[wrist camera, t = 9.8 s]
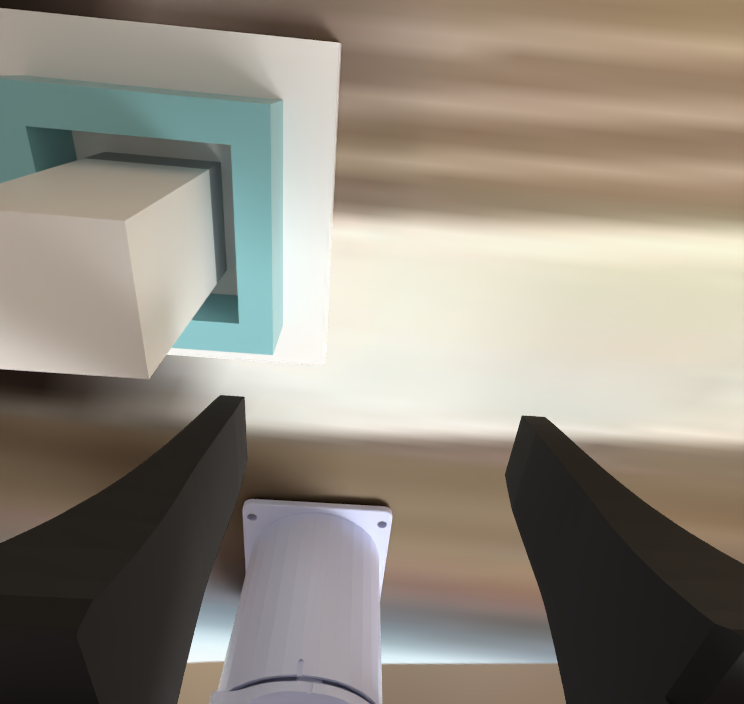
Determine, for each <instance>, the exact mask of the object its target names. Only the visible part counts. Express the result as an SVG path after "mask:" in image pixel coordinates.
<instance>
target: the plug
mask: <svg viewBox="0 0 744 704" xmlns="http://www.w3.org/2000/svg"><path fill="white" fill-rule="evenodd" d="M226 270H227V263H226V245H225V227H224V209H223V192H222V174H221V162H214V161H202V160H191V159H180V158H169V157H158V156H147V155H136V154H125V153H113V152H102V153H99V154H96V155H92V156H89V157H86V158H83V159H79V160H76V161H73V162H69V163H66V164H63V165H59V166H56V167H53V168H50V169H46V170H43V171H40V172H36V173H33V174H30V175H26V176H23V177H20V178H16V179H13V180H10V181H7V182H3V183H0V369H8V370H23V371H37V372H52V373H66V374H81V375H96V376H110V377H125V378H139V379H149V378H150V377H151V376H152V374H153V373H154V371H155V370H156V369H157V367H158V366H159V364H160V363H161V362H162V360H163V359H164V357H165V356H166V355H167V353H168V352H169V350H170V349H171V348H172V346H173V345H174V343H175V342H176V341H177V339H178V338H179V336H180V335H181V334H182V332H183V331H184V329H185V328H186V327H187V325H188V324H189V322H190V321H191V320H192V318H193V317H194V315H195V314H196V313H197V311H198V310H199V308H200V307H201V305H202V304H203V303H204V301H205V300H206V298H207V297H208V296H209V294H210V293H211V291H212V290H213V289H214V287H215V286H216V284H217V283H218V282H219V280H220V279H221V277H222V276H223V275H224V273H225V272H226Z"/></svg>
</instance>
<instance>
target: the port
mask: <svg viewBox="0 0 744 704" xmlns="http://www.w3.org/2000/svg"><path fill="white" fill-rule="evenodd" d="M340 62H341V43H337V42H328V41H318V40H308V39H298V38H289V37H279V36H269V35H259V34H250V33H240V32H230V31H220V30H211V29H201V28H191V27H181V26H172V25H162V24H152V23H142V22H133V21H123V20H113V19H103V18H94V17H84V16H74V15H64V14H55V13H45V12H35V11H25V10H16V9H6V8H0V183H3V182H7V181H10V180H13V179H16V178H20V177H23V176H26V175H30V174H33V173H36V172H40V171H43V170H46V169H50V168H53V167H56V166H59V165H63V164H66V163H69V162H73V161H76V160H79V159H83V158H86V157H89V156H92V155H96V154H99V153H102V152H113V153H125V154H136V155H147V156H158V157H169V158H180V159H191V160H202V161H214V162H221V174H222V192H223V209H224V227H225V245H226V263H227V270H226V272H225V273H224V275H223V276H222V277H221V279H220V280H219V282H218V283H217V284H216V286H215V287H214V289H213V290H212V291H211V293H210V294H209V296H208V297H207V298H206V300H205V301H204V303H203V304H202V305H201V307H200V308H199V310H198V311H197V313H196V314H195V315H194V317H193V318H192V320H191V321H190V322H189V324H188V325H187V327H186V328H185V329H184V331H183V332H182V334H181V335H180V336H179V338H178V339H177V341H176V342H175V343H174V345H173V346H172V348H171V349H170V350H169V352H168V353H167V355H181V356H195V357H209V358H223V359H237V360H251V361H265V362H279V363H293V364H308V365H322V366H325V359H326V348H327V327H328V307H329V287H330V266H331V246H332V226H333V205H334V185H335V164H336V144H337V124H338V103H339V83H340Z"/></svg>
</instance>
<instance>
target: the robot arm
mask: <svg viewBox="0 0 744 704" xmlns="http://www.w3.org/2000/svg"><path fill="white" fill-rule="evenodd" d="M246 462H247V442H246V420H245V397H239V396H225V395H220V396H219V397H218V398H216V399H215V400H214V401H213V402H212V403H211V404H210V405H209V406H208V407H207V408H206V409H205V410H204V411H203V412H201V413H200V414H199V415H198V416H197V417H196V418H195V419H194V420H193V421H192V422H191V423H190V424H189V425H187V426H186V427H185V428H184V429H183V430H182V431H181V432H180V433H178V434H177V435H176V436H175V437H174V438H173V439H172V440H170V441H169V442H168V443H167V444H166V445H165V446H163V447H162V448H161V449H160V450H158V451H157V452H156V453H155V454H153V455H152V456H151V457H150V458H148V459H147V460H146V461H144V462H143V463H142V464H141V465H139V466H138V467H137V468H135V469H134V470H133V471H131V472H130V473H128V474H127V475H125V476H124V477H122V478H121V479H119V480H118V481H116V482H115V483H113V484H112V485H110V486H109V487H107V488H106V489H104V490H102V491H101V492H99V493H98V494H96V495H94V496H92V497H91V498H89V499H87V500H85V501H83V502H82V503H80V504H78V505H76V506H75V507H73V508H71V509H69V510H68V511H66V512H64V513H62V514H60V515H59V516H57V517H55V518H53V519H51V520H49V521H47V522H45V523H43V524H41V525H39V526H37V527H35V528H32V529H30V530H28V531H26V532H24V533H22V534H20V535H17V536H15V537H13V538H11V539H9V540H6V541H4V542H2V543H0V704H177V702H178V698H179V694H180V689H181V685H182V680H183V676H184V672H185V668H186V663H187V659H188V655H189V651H190V647H191V643H192V639H193V635H194V631H195V627H196V623H197V619H198V615H199V611H200V607H201V603H202V599H203V596H204V592H205V588H206V585H207V582H208V579H209V576H210V573H211V570H212V567H213V564H214V562H215V559H216V556H217V554H218V551H219V548H220V545H221V543H222V540H223V537H224V535H225V532H226V529H227V526H228V524H229V521H230V518H231V515H232V513H233V510H234V507H235V504H236V502H237V499H238V496H239V493H240V489H241V484H242V480H243V476H244V471H245V467H246ZM505 477H506V483H507V488H508V493H509V498H510V503H511V507H512V511H513V514H514V517H515V520H516V523H517V526H518V529H519V532H520V535H521V538H522V541H523V543H524V546H525V549H526V552H527V555H528V558H529V560H530V563H531V566H532V569H533V572H534V575H535V578H536V580H537V583H538V586H539V589H540V592H541V596H542V599H543V602H544V605H545V609H546V613H547V618H548V622H549V626H550V630H551V634H552V639H553V643H554V647H555V652H556V656H557V661H558V666H559V670H560V675H561V680H562V684H563V689H564V694H565V700H566V704H744V564H742V563H741V562H739V561H737V560H735V559H733V558H732V557H730V556H728V555H726V554H724V553H723V552H721V551H719V550H718V549H716V548H714V547H713V546H711V545H709V544H708V543H706V542H704V541H702V540H701V539H699V538H697V537H696V536H694V535H693V534H691V533H689V532H688V531H686V530H685V529H683V528H682V527H680V526H678V525H677V524H675V523H674V522H673V521H671V520H670V519H668V518H667V517H665V516H664V515H662V514H661V513H660V512H658V511H657V510H655V509H654V508H652V507H651V506H650V505H648V504H647V503H645V502H644V501H643V500H641V499H640V498H639V497H637V496H636V495H635V494H634V493H632V492H631V491H630V490H629V489H627V488H626V487H625V486H624V485H622V484H621V483H620V482H619V481H617V480H616V479H615V478H614V477H613V476H611V475H610V474H609V473H608V472H607V471H605V470H604V469H603V468H602V467H601V466H600V465H598V464H597V463H596V462H595V461H594V460H593V459H592V458H590V457H589V456H588V455H587V454H586V453H585V452H584V451H583V450H582V449H580V448H579V447H578V446H577V445H576V444H575V443H574V442H573V441H572V440H571V439H569V438H568V437H567V436H566V435H565V434H564V433H563V432H562V431H561V430H559V429H558V428H557V427H556V426H555V425H554V424H553V423H551V422H550V421H549V420H548V419H547V418H545V417H536V416H522V417H521V421H520V424H519V428H518V431H517V435H516V438H515V442H514V445H513V449H512V452H511V455H510V459H509V462H508V466H507V469H506V473H505ZM242 512H243V530H244V549H245V568H246V576H245V580H244V584H243V588H242V592H241V597H240V601H239V605H238V609H237V613H236V617H235V621H234V625H233V630H232V634H231V638H230V642H229V646H228V650H227V654H226V658H225V662H224V667H223V671H222V675H221V679H220V683H219V687H218V691H214V692H212V694H211V698H210V702H209V704H382V679H381V678H382V675H381V629H380V596H381V590H382V583H383V576H384V570H385V563H386V556H387V550H388V543H389V536H390V530H391V523H392V511H391V509H390V508H388V507H384V506H368V505H351V504H333V503H316V502H299V501H281V500H264V499H248V500H246V501H245V502H244V505H243V509H242ZM251 514H255V515H251ZM380 521H384V522H380Z"/></svg>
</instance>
